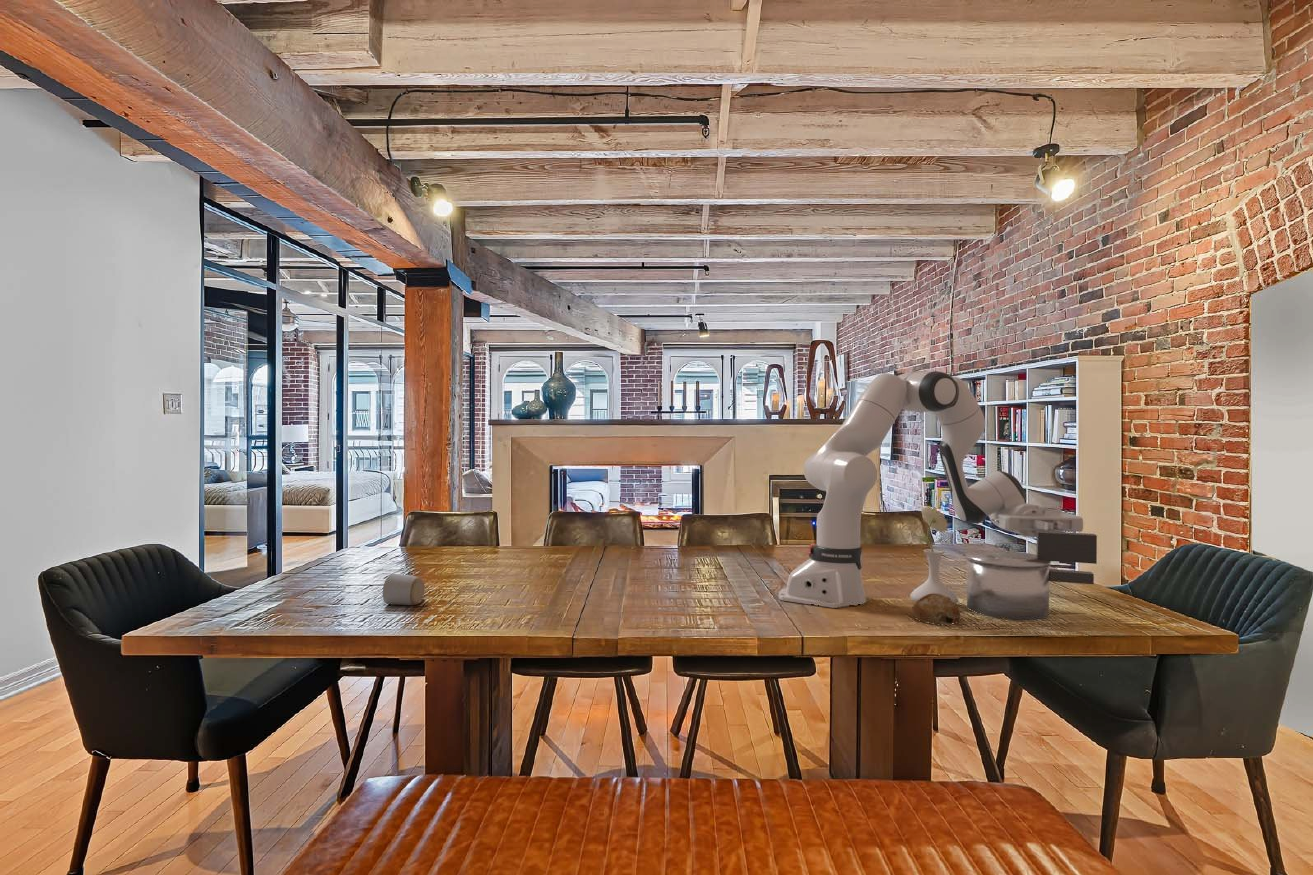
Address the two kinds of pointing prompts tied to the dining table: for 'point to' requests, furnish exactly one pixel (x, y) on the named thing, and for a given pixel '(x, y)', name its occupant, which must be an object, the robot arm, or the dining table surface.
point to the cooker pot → (1015, 590)
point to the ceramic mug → (403, 590)
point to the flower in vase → (933, 558)
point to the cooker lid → (1043, 551)
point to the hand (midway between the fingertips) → (1055, 526)
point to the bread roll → (936, 609)
